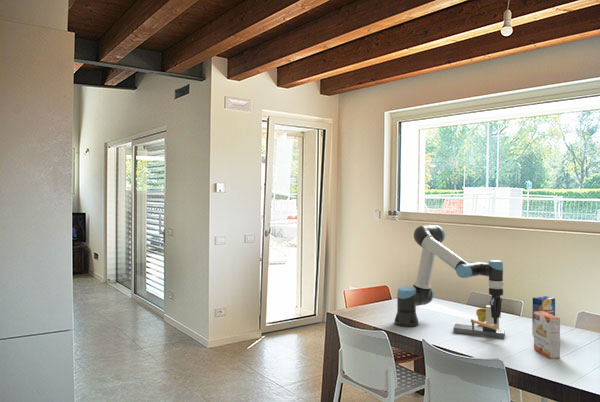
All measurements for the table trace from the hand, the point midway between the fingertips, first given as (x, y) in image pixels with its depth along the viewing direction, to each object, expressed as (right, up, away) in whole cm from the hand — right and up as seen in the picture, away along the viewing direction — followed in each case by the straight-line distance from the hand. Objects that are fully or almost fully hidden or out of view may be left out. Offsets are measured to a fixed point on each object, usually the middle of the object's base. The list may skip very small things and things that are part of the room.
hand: (496, 329), depth 266 cm
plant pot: (+6, -7, +32) cm, 34 cm away
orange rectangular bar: (-5, -4, +6) cm, 8 cm away
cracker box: (+17, -7, -22) cm, 29 cm away
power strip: (-4, -7, +15) cm, 17 cm away
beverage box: (+34, -7, +13) cm, 37 cm away
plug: (+1, -4, +11) cm, 12 cm away
